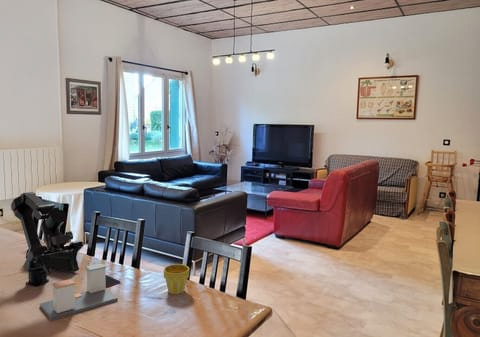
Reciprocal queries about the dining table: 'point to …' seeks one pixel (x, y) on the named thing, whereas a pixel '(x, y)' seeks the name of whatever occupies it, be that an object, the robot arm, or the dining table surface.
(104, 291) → the grey flat board
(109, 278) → the smartphone
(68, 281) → the white box tan lid
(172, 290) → the plant pot
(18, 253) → the dining table surface
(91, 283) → the grey rectangular block
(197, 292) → the dining table surface
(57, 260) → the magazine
